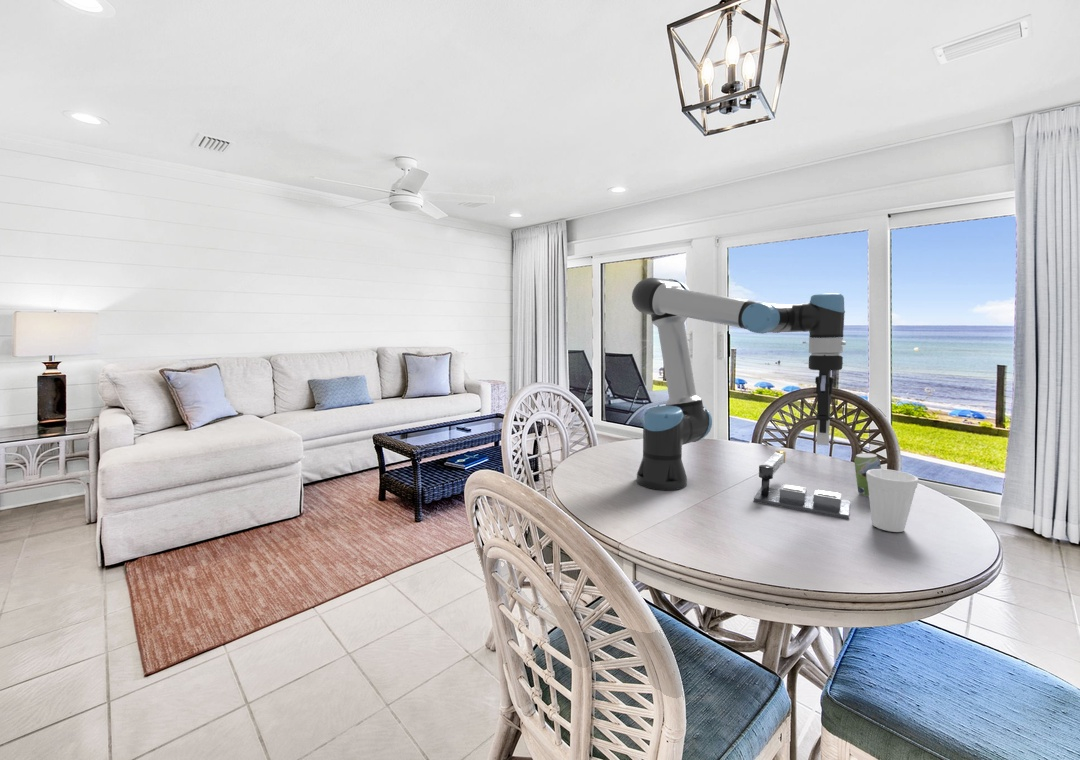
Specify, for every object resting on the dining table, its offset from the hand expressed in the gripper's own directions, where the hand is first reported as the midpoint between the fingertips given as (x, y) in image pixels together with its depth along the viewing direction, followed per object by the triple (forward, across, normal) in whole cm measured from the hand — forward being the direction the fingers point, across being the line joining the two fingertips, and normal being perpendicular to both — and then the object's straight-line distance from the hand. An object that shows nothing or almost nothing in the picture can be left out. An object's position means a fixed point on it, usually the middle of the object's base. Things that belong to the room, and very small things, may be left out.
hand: (822, 444), depth 124 cm
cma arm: (+11, +10, +13) cm, 20 cm away
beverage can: (+18, +18, -10) cm, 27 cm away
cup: (+18, -6, -14) cm, 24 cm away
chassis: (+17, +1, +5) cm, 18 cm away
